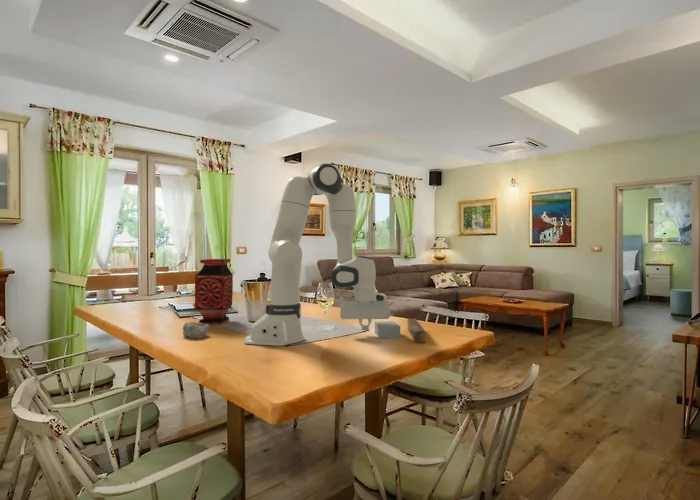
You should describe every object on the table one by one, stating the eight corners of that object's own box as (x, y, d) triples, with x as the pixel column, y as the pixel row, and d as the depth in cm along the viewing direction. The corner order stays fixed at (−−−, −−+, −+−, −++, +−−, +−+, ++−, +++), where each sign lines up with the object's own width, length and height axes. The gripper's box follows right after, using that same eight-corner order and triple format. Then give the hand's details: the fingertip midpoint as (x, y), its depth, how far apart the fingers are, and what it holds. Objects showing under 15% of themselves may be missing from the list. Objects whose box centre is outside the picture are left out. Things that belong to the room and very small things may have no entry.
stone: (177, 339, 158) (177, 324, 158) (188, 334, 167) (188, 320, 166) (201, 339, 157) (201, 325, 157) (211, 335, 165) (210, 321, 165)
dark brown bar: (415, 343, 150) (415, 331, 150) (407, 329, 174) (407, 318, 174) (425, 343, 150) (425, 331, 150) (415, 329, 174) (415, 318, 174)
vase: (224, 325, 185) (223, 259, 184) (194, 325, 185) (193, 259, 184) (233, 319, 199) (232, 258, 198) (205, 319, 199) (205, 258, 198)
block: (380, 339, 157) (380, 326, 157) (374, 333, 167) (374, 321, 167) (400, 338, 158) (400, 326, 158) (393, 333, 168) (393, 321, 168)
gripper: (338, 297, 159) (339, 331, 160) (390, 296, 159) (390, 331, 160) (339, 294, 166) (339, 328, 166) (389, 294, 166) (389, 328, 166)
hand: (365, 329), depth 163 cm, fingers closed
